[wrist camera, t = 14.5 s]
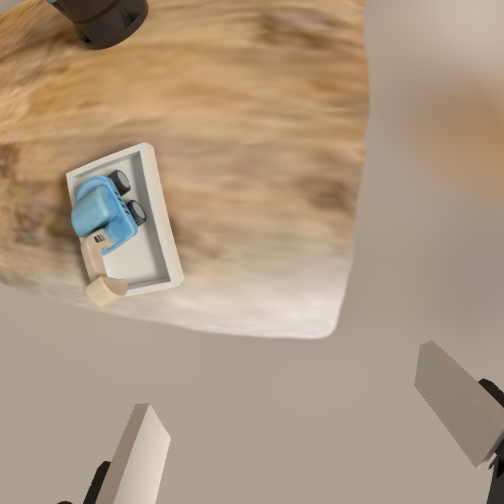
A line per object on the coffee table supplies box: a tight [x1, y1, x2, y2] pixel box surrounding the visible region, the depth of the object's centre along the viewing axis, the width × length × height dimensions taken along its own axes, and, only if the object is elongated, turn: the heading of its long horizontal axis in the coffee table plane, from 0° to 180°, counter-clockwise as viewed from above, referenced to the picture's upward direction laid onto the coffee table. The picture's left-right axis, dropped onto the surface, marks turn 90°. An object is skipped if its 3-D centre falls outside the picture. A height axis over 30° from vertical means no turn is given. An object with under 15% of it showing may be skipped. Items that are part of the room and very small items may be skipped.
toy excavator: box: [71, 170, 147, 307], centre depth 32 cm, size 9×17×17 cm, turn 29°
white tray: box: [66, 142, 184, 297], centre depth 40 cm, size 22×15×6 cm
